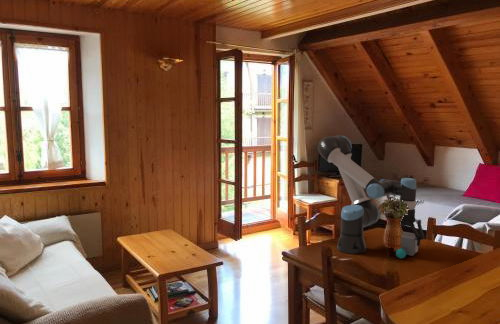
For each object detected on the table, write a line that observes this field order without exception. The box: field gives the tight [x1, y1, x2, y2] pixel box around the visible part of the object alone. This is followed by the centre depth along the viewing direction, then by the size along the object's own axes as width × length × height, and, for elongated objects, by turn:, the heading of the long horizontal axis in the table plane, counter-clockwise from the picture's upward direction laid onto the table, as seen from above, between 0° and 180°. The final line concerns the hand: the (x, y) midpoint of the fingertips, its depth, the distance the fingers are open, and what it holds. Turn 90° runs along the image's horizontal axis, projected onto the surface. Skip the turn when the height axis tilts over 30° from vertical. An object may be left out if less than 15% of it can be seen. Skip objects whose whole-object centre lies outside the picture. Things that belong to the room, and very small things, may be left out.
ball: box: [395, 248, 407, 259], centre depth 213 cm, size 5×5×5 cm
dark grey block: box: [401, 230, 417, 257], centre depth 219 cm, size 10×10×9 cm
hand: (405, 249), depth 220 cm, fingers closed on dark grey block, 10 cm apart
